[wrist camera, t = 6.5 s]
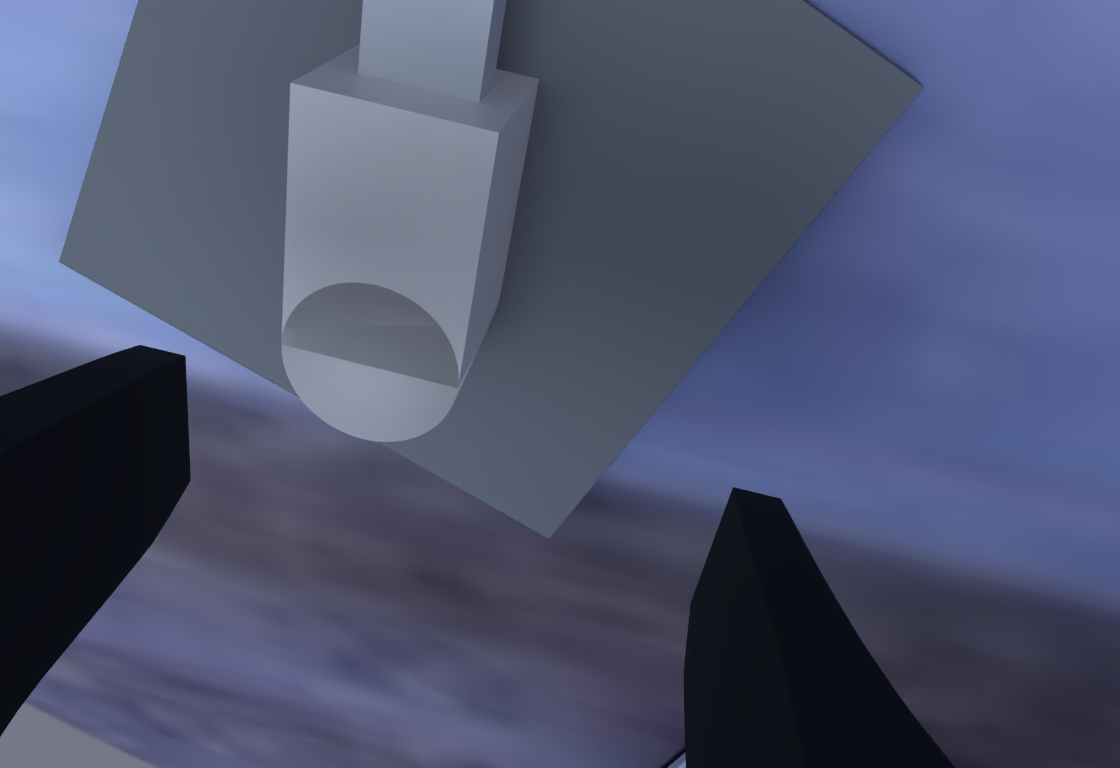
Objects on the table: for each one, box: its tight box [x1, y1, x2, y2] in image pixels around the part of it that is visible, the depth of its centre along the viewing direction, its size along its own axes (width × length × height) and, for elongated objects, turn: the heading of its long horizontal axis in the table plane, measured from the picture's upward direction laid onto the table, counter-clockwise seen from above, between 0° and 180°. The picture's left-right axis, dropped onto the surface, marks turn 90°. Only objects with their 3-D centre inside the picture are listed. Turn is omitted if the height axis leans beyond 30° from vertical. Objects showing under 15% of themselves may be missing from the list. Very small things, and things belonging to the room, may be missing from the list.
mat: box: [59, 0, 924, 539], centre depth 20 cm, size 14×14×1 cm
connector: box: [281, 0, 539, 442], centre depth 18 cm, size 8×4×4 cm, turn 169°
